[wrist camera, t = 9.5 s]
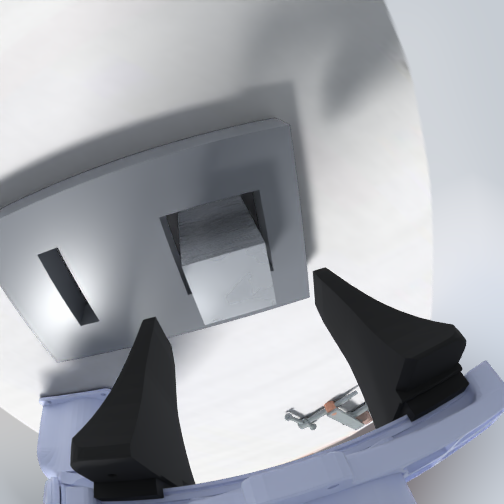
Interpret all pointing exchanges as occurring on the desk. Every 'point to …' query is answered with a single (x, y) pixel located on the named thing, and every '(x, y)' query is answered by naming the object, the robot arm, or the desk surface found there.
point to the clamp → (337, 415)
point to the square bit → (224, 260)
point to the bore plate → (144, 238)
